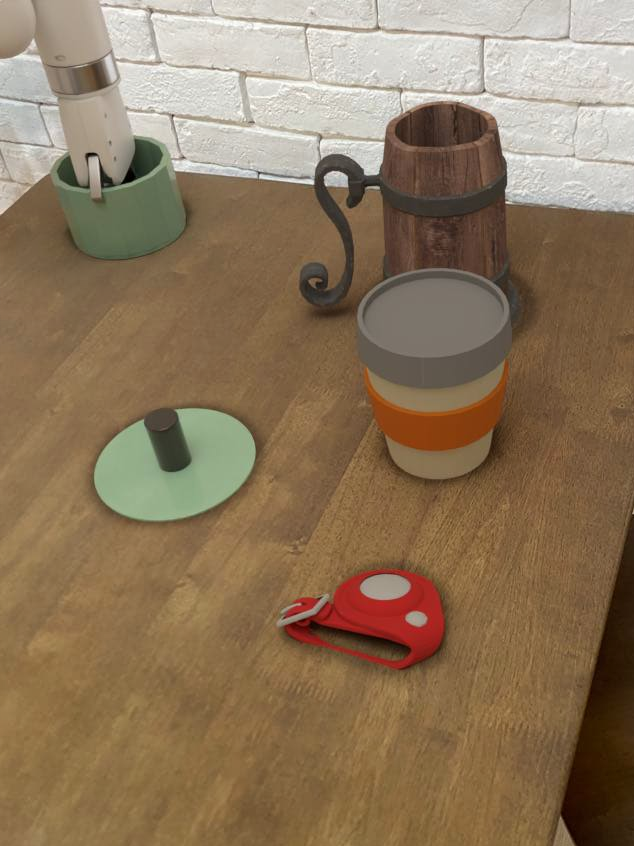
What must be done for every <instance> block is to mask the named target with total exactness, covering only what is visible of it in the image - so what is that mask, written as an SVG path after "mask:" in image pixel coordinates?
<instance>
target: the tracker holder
mask: <svg viewBox="0 0 634 846" xmlns="http://www.w3.org/2000/svg"><path fill="white" fill-rule="evenodd" d="M330 599H331V595H330V594H329V593H325V594H322V595H319V596H317V597H311V596H304V597H299V598H298V599H296V600H294V601H293V602H292V604H291V605H288V606H286V607H284V608H283V609H282V610H280V614H281V615H282V616H281V617H280V618H279V619H278V620H277V621H276V623H275V625H276V627H277V628H282V627H284V629H285V630H286V632H287V634H288V635H289V636H290V637H292V638H294V639H295V640H297V641H299V642H301V643H303V644H308V645H312V646H319V647H325V648H329V649H333V650H336V651H339V652H342V653H346V654H348V655H352V656H355V657H357V658H361V659H364V660H366V661H370V662H373V663H375V664H378V665H383V666H385V667H388V668H391V669H394V670H401V669H405V668H408V667H410V666H413V665H414V664H417V663H419V662H421V661H423V660H426V659H428V658H430V657H431V656H433V654H435V652H436V651H437V650H438V649H439V647H440V645H441V643H442V640H443V638H444V633H445V617H444V611H443V606H442V602H441V598H440V595H439V592H438V590H437V588H436V587H435V585H434V583H432V581H431V580H429V579H428V578H426V577H425V576H423V575H421V574H417V573H415V572H411V571H407V570H401V569H376V570H370V571H365V572H362V573H359V574H356V575H353V576H352V577H349V578H348V579H346V580H345V581H344V582H341V584H340V585H339V586H338V587H337V589H336V590H335V592H334V595H333V599H332V602H330V601H329V600H330ZM311 622H315V623H317V624H319V625H321V626H325V627H330V628H334V629H338V630H342V631H348V632H354V633H357V634H363V635H368V636H372V637H377V638H382V639H385V640H389V641H391V642H395V643H398V644H401V645H404V646H406V647H407V648H409V649H410V652H409V654H408V655H407V656H406V657H405V658H404V659H403V658H402V659H396V660H392V659H391V660H389V659H386V658H382V657H378V656H374V655H371V654H366V653H363V652H360V651H356V650H351V649H348V648H345V647H342V646H337V645H334V644H331V643H329V642H326V641H325V640H323V638H321V637H320V635H318V634H317V633H314V630H313V629H312V628H311V627H310V626H309V625H310V624H311ZM311 633H314V634H313V635H312V634H311Z"/></svg>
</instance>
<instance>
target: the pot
mask: <svg viewBox="0 0 634 846" xmlns="http://www.w3.org/2000/svg"><path fill="white" fill-rule="evenodd" d="M133 137H134V142H135V153H134V156H133V162H134V164H135V166H136V168H137V172H138V178H134V179H137V180H135V181H133V182H131V183H127V184H123V185H119V186H115V187H110V188H104V189H103V191H102V192H103V195H104V198H105V202H106V203H94V202H93V201H92V199H91V195H90V184H89V186H88V187H87V188H82V187H81V186H80V185H79V183H78V181H77V177H76V174H75V171H74V167H73V164H72V161H71V157H70V154H69V150H68V151H66V152H65V153H63V154H62V155H61V156H60V157H59V158H57V159H56V160H55V161H54V163H53V165H52V166H51V169H50V170H49V175H50V177H51V180H52V183H53V186H54V189H55V192H56V195H57V197H58V199H59V203H60V205H61V208H62V211H63V214H64V217H65V219H66V222H67V225H68V227H69V230H70V234H71V236H72V239H73V241H74V244H75V246H76V248H77V249H78V250H79V251H80V252H81V253H82V254H85V255H87V256H89V257H92V258H96V259H101V260H109V261H110V260H111V261H114V260H115V261H116V260H128V259H129V260H130V259H134V258H140V257H143V256H146V255H150V254H152V253H155V252H158V251H159V250H162V249H164V248H166V247H167V246H170V244H173V242H174V241H176V240H177V239H179V237H180V236H181V235H182V234H183V232H184V230H185V228H186V224H187V213H186V209H185V206H184V202H183V198H182V194H181V191H180V187H179V182H178V179H177V175H176V171H175V167H174V164H173V159H172V155H171V152H170V151H169V149H168V146H167V145H166V144H165V143H163V142H162V141H160V140H158V139H156V138H154V137H149V136H142V135H136V134H133ZM112 181H113V180H112V177H110V178H109V177H104V182H112Z"/></svg>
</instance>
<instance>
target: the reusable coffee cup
mask: <svg viewBox="0 0 634 846" xmlns="http://www.w3.org/2000/svg"><path fill="white" fill-rule="evenodd" d="M512 344H513V331H512V328H511V320H510V310H509V303H508V301H507V298H506V296H505V294H504V293H503V292H502V291H501V289H500V288H499V287H498V286H496V285H495V284H494V283H493V282H491V281H489V280H488V279H486V278H484V277H482V276H479V275H477V274H474V273H471V272H467V271H462V270H457V269H447V268H429V269H421V270H414V271H410V272H406V273H402V274H399V275H396V276H394V277H391V278H389V279H387V280H385V281H384V280H383V281H382V282H380V283H378V284H376V285H375V286H374V287H372V288H371V289H370V290H369V291H368V292H367V293H366V294H365V295H364V297H363V298H362V299H361V301H360V304H359V306H358V307H357V313H356V348H357V354H358V356H359V358H360V360H361V362H362V364H363V365H364V366H363V367H364V369H363V379H364V383H365V386H366V391H367V395H368V398H369V402H370V405H371V408H372V411H373V415H374V419H375V422H376V424H377V426H378V427H379V429H380V431H381V432H382V433H383V434H384V438H385V441H386V444H387V447H388V452H389V455H390V457H391V459H392V461H393V462H394V463H395V464H396V465H397V467H399V468H400V469H402V470H403V471H404V472H406V473H408V474H410V475H412V476H415V477H419V478H422V479H428V480H446V479H454V478H457V477H460V476H464V475H466V474H468V473H470V472H472V471H473V470H475V469H476V468H478V467H480V465H481V464H482V463H483V462H484V461H485V460H486V458H487V457H488V455H489V452H490V448H491V445H492V438H493V434H494V433H493V432H494V428H495V426H496V425H497V423H498V421H499V420H500V417H501V413H502V409H503V403H504V398H505V392H506V387H507V380H508V375H509V361H508V358H507V356H508V355H509V353H510V351H511V348H512Z"/></svg>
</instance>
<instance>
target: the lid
mask: <svg viewBox="0 0 634 846" xmlns="http://www.w3.org/2000/svg"><path fill="white" fill-rule="evenodd" d="M256 458H257V447H256V443H255V440H254V437H253V435H252V434H251V432H250V430H249V429H248V428H247V427H246V425H244V424H243V423H242V422H241V421H240V420H239V419H237V418H235V417H234V416H232V415H229V414H227V413H224V412H222V411H218V410H213V409H209V408H196V407H195V408H194V407H189V408H188V407H187V408H178V409H174V408H170V407H160V408H155V409H154V410H151V411H150V412H148V413H147V414H146V415H145V416H144V418H142V419H140V420H138V421H137V422H135V423H133V424H131V425H129V426H128V427H126V428H124V429H123V430H122V431H120V432H119V433H118V434H116V435H115V436H114V438H112V439H111V440H110V441H109V443H107V445H106V446H105V447H104V448H103V450H102V452H101V453H100V455H99V456H98V458H97V461H96V463H95V467H94V471H93V482H94V488H95V490H96V492H97V495H98V497H99V498H100V501H102V502H103V504H105V505H106V507H108V508H109V509H110V510H112V511H113V512H115V513H117V514H119V515H120V516H123V517H125V518H128V519H132V520H136V521H140V522H150V523H165V522H174V521H179V520H186V519H188V518H192V517H195V516H198V515H201V514H203V513H207V512H208V511H210V510H212V509H214V508H216V507H218V506H219V505H221V504H223V503H224V502H226V501H227V500H229V499H230V498H231V497H233V496H234V495H235V494H236V493H237V492H238V491H239V490H240V489H241V488H242V487H243V485H244V484H245V483H246V482H247V480H248V479H249V478H250V475H251V474H252V472H253V469H254V467H255V464H256V461H257V459H256Z"/></svg>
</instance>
